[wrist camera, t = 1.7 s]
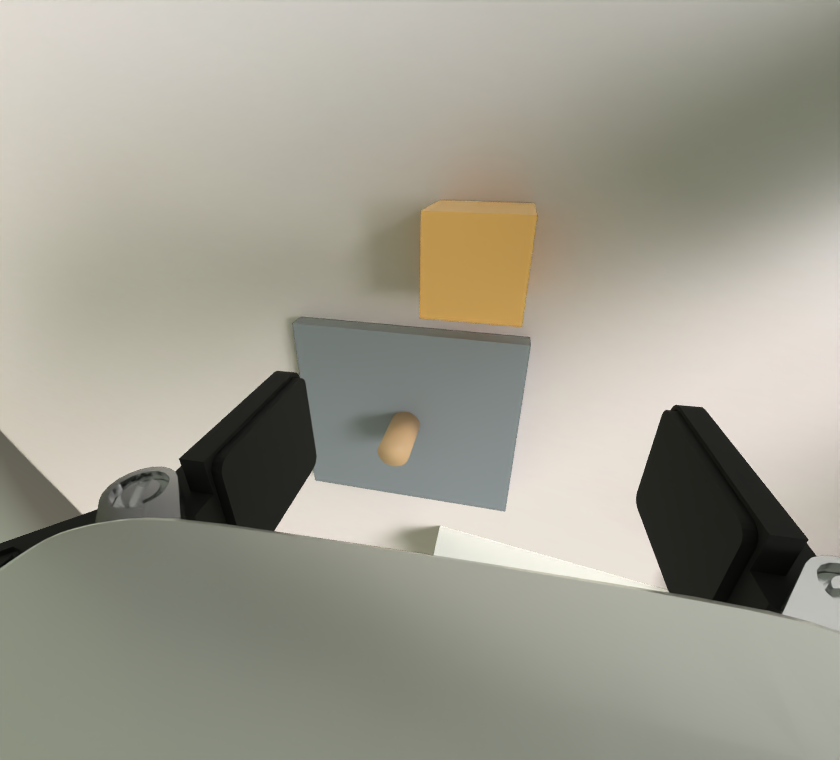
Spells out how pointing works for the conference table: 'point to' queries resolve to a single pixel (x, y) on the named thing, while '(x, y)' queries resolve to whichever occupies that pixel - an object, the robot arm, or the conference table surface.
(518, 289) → the orange cube
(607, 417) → the conference table surface
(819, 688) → the robot arm
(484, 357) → the peg board
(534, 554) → the triangle block
